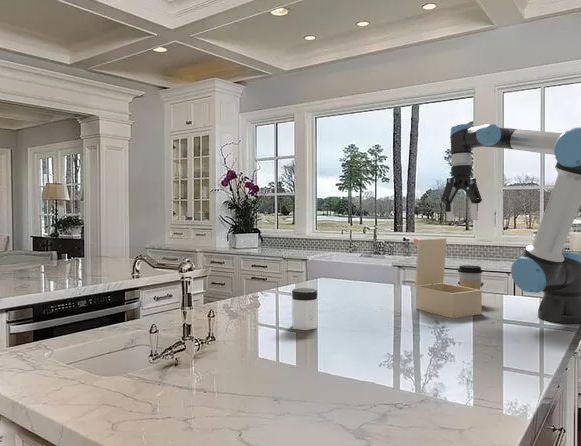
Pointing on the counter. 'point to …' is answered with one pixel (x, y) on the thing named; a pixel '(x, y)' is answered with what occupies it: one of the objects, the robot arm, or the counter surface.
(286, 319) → the counter surface
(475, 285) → the coffee cup
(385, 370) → the counter surface
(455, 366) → the counter surface
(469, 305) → the carton
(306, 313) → the jar
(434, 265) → the lid flap
